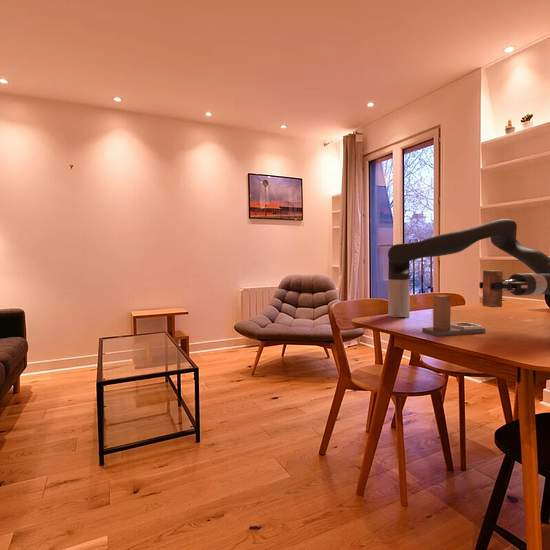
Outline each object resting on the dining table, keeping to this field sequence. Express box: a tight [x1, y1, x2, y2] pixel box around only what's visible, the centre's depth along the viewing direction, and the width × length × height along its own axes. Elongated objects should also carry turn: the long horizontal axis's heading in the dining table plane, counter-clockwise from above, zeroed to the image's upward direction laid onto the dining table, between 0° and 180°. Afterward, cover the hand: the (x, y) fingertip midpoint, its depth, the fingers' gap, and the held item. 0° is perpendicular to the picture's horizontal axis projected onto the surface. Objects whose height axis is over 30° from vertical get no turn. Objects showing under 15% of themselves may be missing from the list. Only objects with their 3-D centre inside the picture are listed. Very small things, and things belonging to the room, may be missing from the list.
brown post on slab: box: [421, 294, 486, 337], centre depth 133 cm, size 20×8×14 cm, turn 104°
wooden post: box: [482, 269, 504, 308], centre depth 123 cm, size 4×4×12 cm
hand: (485, 285), depth 122 cm, fingers closed on wooden post, 4 cm apart
